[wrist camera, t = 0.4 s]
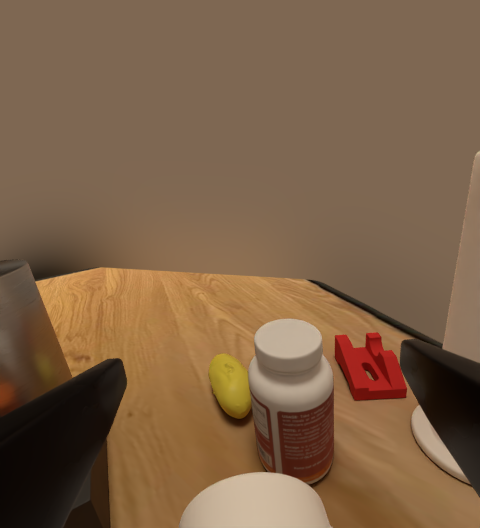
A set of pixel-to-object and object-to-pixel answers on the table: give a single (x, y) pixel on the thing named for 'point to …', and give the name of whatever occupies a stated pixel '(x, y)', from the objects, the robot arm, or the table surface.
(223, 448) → the table surface
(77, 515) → the push button box
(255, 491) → the mug
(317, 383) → the pill bottle
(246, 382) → the lemon
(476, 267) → the candle
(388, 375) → the bracket
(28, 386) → the silver metal canister
